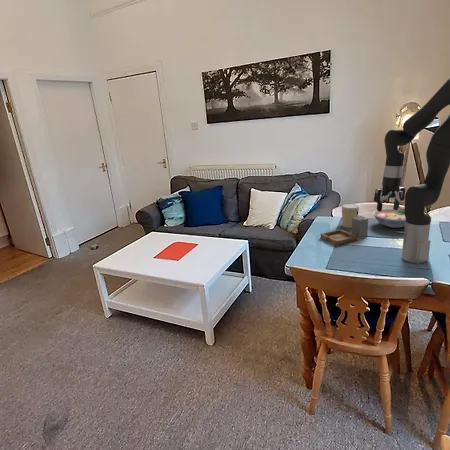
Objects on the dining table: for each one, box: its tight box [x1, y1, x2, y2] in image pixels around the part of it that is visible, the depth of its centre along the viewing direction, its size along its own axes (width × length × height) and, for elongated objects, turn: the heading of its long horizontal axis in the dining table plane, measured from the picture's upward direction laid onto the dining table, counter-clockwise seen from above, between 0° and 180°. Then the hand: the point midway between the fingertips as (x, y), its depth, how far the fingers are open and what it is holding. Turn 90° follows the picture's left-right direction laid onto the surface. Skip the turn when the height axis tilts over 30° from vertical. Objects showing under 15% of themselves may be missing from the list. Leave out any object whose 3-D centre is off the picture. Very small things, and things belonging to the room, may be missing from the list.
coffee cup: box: [341, 203, 360, 229], centre depth 184 cm, size 9×9×12 cm
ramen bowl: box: [372, 206, 406, 229], centre depth 179 cm, size 25×23×8 cm
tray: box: [320, 228, 359, 247], centre depth 168 cm, size 13×13×2 cm
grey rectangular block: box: [351, 214, 369, 240], centre depth 169 cm, size 6×6×11 cm
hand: (387, 210), depth 148 cm, fingers open, 8 cm apart
